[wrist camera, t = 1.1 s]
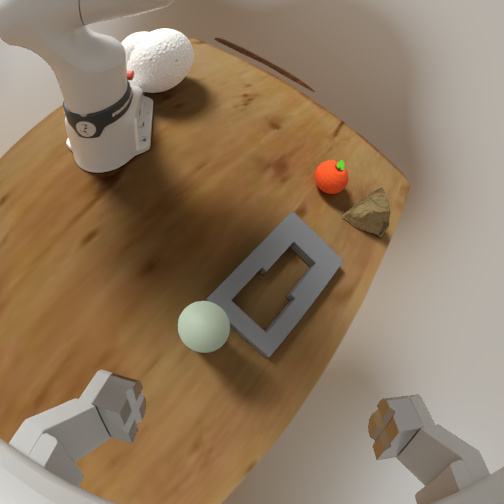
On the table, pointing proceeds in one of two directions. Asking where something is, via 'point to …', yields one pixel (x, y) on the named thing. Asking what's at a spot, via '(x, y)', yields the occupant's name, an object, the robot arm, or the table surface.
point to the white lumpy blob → (158, 59)
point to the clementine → (331, 176)
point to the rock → (370, 213)
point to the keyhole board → (300, 297)
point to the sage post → (203, 326)
